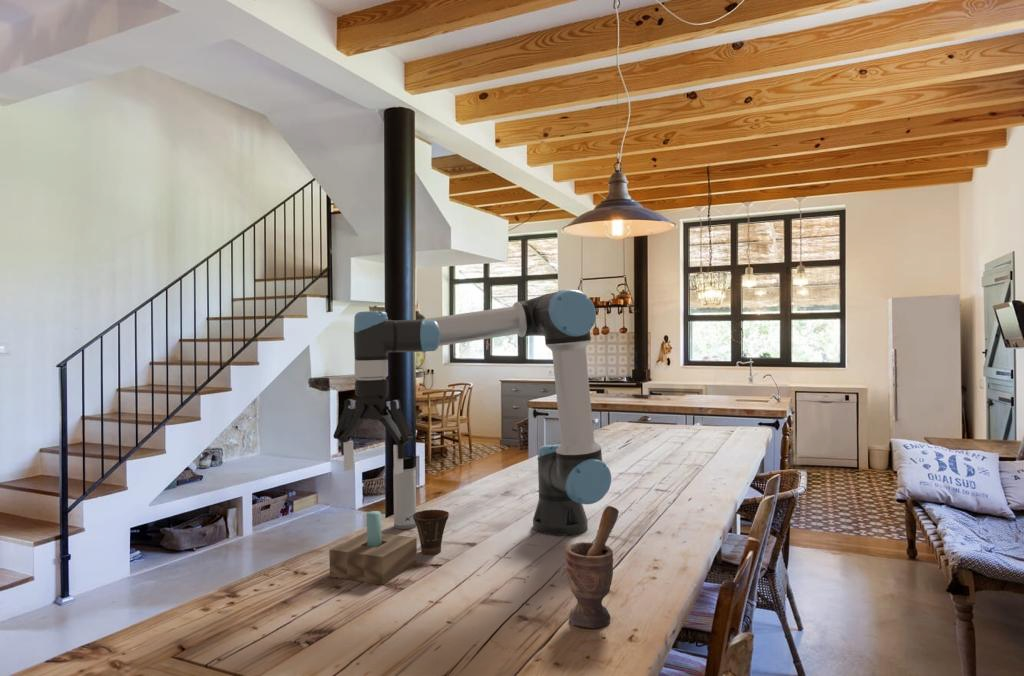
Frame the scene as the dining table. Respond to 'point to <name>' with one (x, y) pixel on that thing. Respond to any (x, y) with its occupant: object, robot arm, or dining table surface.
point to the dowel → (374, 529)
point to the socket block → (373, 558)
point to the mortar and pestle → (591, 574)
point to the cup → (430, 529)
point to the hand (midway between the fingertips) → (373, 471)
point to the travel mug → (405, 494)
